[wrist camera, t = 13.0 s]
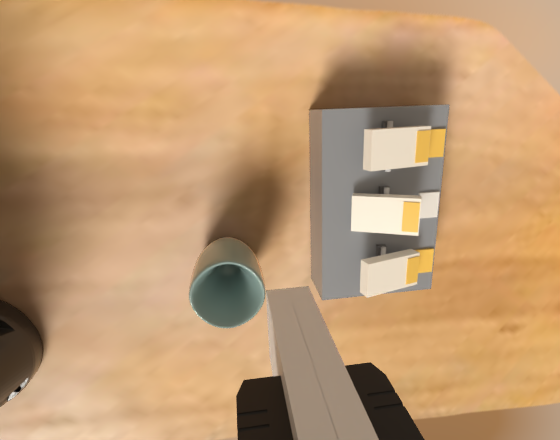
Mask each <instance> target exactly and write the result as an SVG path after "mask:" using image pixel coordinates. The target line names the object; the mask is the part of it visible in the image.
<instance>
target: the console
mask: <svg viewBox="0 0 560 440" xmlns="http://www.w3.org/2000/svg"><path fill="white" fill-rule="evenodd" d="M448 113H449V105H415V106H390V107H364V108H338V109H313V110H309V132H310V220H311V279H312V281H313V283H314V285H315V287H316V289H317V291H318V293H319V295H320V297H321V299H322V300H329V299H338V298H348V297H357V296H364V295H363V294H362V293H360V271H361V260H362V259H366V258H371V257H375V256H380V255H385V254H389V253H394V252H398V251H403V250H407V249H413V250H415V251H417V252H419V253H420V256H419V268H418V279H417V284H416V285H413V286H409V287H405V288H401V289H398V290H394V291H390V292H386V293H395V292H404V291H414V290H423V289H431V283H432V273H433V263H434V253H435V243H436V233H437V223H438V213H439V203H440V193H441V183H442V173H443V163H444V153H445V143H446V133H447V123H448ZM408 126H431V134H430V146H429V157H428V165H426V166H417V167H407V168H398V169H389V170H379V171H367V170H363V151H364V129H376V128H392V127H408ZM353 193H366V194H392V195H418V196H421V211H420V223H419V234H418V236H413V235H399V234H385V233H371V232H357V231H351V209H352V195H353ZM383 294H385V293H383Z"/></svg>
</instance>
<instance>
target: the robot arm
mask: <svg viewBox="0 0 560 440" xmlns="http://www.w3.org/2000/svg"><path fill="white" fill-rule="evenodd" d="M266 298H267V317H268V336H269V354H270V362H271V367H272V373H273V376H272V377H265V378H257V379H249V380H244V381H243V383H242V385H241V387H240V389H239V392H238V394H237V396H236V398H237V429H238V440H424V438H423V437H422V435H421V433H420V432H419V430H418V428H417V427H416V425H415V423H414V421H413V420H412V418H411V416H410V415H409V413H408V411H407V410H406V408H405V406H404V407H403V404H402V401H401V400H400V398H399V396H398V395H397V393H395V390H394V388H393V386H392V385H391V383H390V381H389V380H388V378H387V376H386V375H385V374H384V373H383V372H382V371H380V370H379V369H378V368H377V367H376V366H374V365H373V364H372V363H371V362H370V363H363V364H355V365H347V366H345V365H344V363H343V361H342V358H341V356H340V354H339V352H338V350H337V348H336V345H335V343H334V341H333V339H332V337H331V334H330V332H329V330H328V328H327V326H326V324H325V321H324V319H323V317H322V315H321V313H320V311H319V308H318V306H317V304H316V302H315V300H314V297H313V295H312V293H311V291H310V289H309V287H308V286H306V287H296V288H286V289H276V290H266ZM41 360H42V343H41V339H40V336H39V334H38V332H37V330H36V328H35V327H34V325H33V324H32V323H31V321H30V320H29V319H28V318H27V317H26V316H25V315H24V314H23V313H21V312H20V311H19V310H18V309H16V308H15V307H13V306H11V305H9V304H7V303H5V302H3V301H1V300H0V407H1V406H2V405H4V404H5V403H6V402H7V401H9V400H11V399H12V398H14V397H15V396H16V395H18V394H19V393H20V392H21V391H22V390H23V389H24V388H25V387H26V386H27V384H28V383H29V382H30V380H31V379H32V377H33V376H34V375H35V373H36V372H37V370H38V368H39V366H40V363H41Z"/></svg>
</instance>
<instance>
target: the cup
mask: <svg viewBox="0 0 560 440" xmlns="http://www.w3.org/2000/svg"><path fill="white" fill-rule="evenodd" d="M189 299H190V304H191V306H192V308H193V310H194V311H195V313H196V314H197V315H198V316H199V317H200V318H201V319H202V320H204V321H205V322H207V323H208V324H210V325H213V326H215V327H219V328H233V327H237V326H240V325H242V324H244V323H246V322H248V321H249V320H250V319H252V318H253V317H254V316H255V315H256V314H257V313H258V311H259V310H260V308H261V307H262V305H263V302H264V299H265V283H264V278H263V274H262V270H261V267H260V264H259V261H258V259H257V257H256V255H255V254H254V252H253V251H252V249H251V248H250V247H249V246H248V245H247V244H245V243H244V242H243V241H241V240H239V239H236V238H233V237H223V238H220V239H217V240H215V241H213V242H211V243H210V244H209V245H208V246H207V247H206V248H205V249H204V250H203V251H202V252H201V254H200V255H199V257H198V259H197V261H196V264H195V266H194V269H193V273H192V277H191V282H190V288H189Z"/></svg>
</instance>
